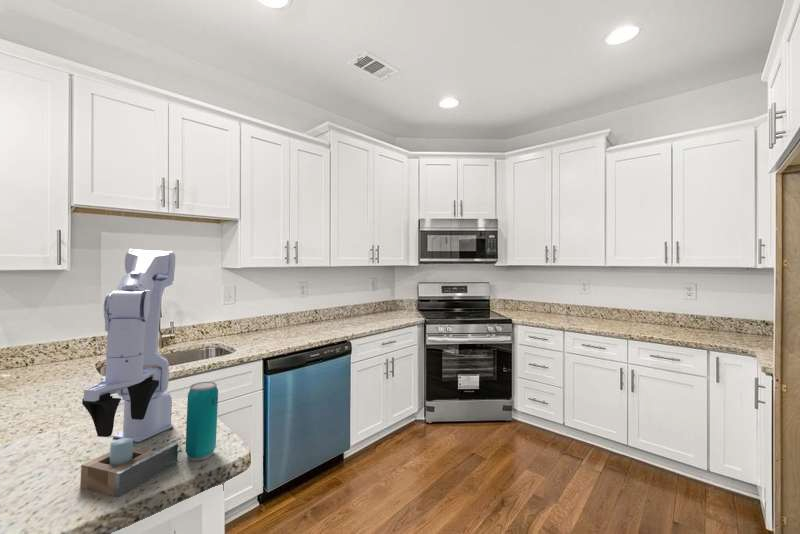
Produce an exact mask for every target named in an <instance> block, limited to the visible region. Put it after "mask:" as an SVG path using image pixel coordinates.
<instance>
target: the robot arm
mask: <svg viewBox="0 0 800 534" xmlns="http://www.w3.org/2000/svg"><path fill="white" fill-rule="evenodd" d="M124 270H125V273H126V274H125V275H123V277H122V279H121V280H120V282H119V283H118V286H117V288H116V289H115V290H112V292H111V293H107V294H106V295H105V298H104V301H103V317H104V330H105V332H107V334H106V353H105V354H106V356H105V373H104V375H105V376H103V377H101V378H100V381H99V382H98V383H96V384H94V385H92V386H90V387H88V388H86V389H84V390H83V398H82V399H81V405H82V406H84V408H85V409H86V411H87V412H88V414H89V416H90V417H91V419H92V421H93V424H94V428H95V431H96V435H97V437H98V438H100V437H101V438H109V437H111V436H112V437H113V438H114V439H115V438H116V439H122V438H132V439H133V442H135V443H140V442H142V441H145V440H146V439H149V438H151V437H154V436H156V435H157V434H160V433H162V432H164V431H166V430H169V429H171V428H172V427H174V424H173V423H172V413H173V412H172V411H173V410H172V409H173V407H172V406H173V399H172V396H171V394H170V392H168V388H169V383H170V382H169V381H170V369H169V368H170V367H169V366H170V363H169V361H168V359H167V358H166V357H164V356H162V355H161V354H160V353H158V344H159V334H160V333H159V332H160V321H161V310H162V309H161V308H162V297H163V294H164V291H165V288H167V287H170V286H172V285H173V281H174V280H175V272H176V271H175V270H176V253H175V252H174V251H173V250H168V251H165V250H149V249H148V250H147V249H134V248H129V249H128V250H126V253H125V255H124ZM152 366H153V367H152ZM114 393H116V394H117V396H119V397H113V395H111V394H114ZM121 397H122V398H121ZM121 400H122V401H123V402H124V403H123V405H124V406H123V421H122V422H123V425H122V431H119V432H117V433H114V434H113V431H114V426H115V425H114V424H115V423H114V422H115V417H116V412H117V409H118V407H119V404H120V403H121ZM112 434H113V435H112Z"/></svg>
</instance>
